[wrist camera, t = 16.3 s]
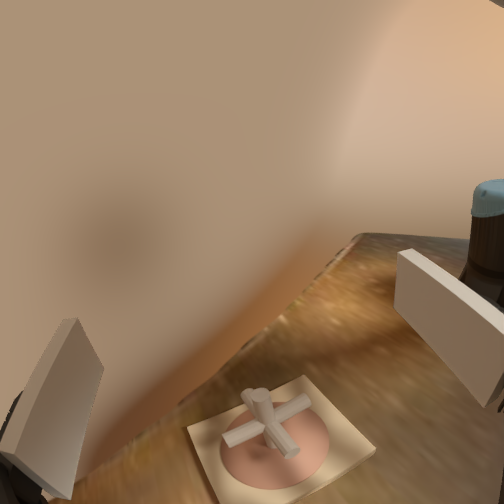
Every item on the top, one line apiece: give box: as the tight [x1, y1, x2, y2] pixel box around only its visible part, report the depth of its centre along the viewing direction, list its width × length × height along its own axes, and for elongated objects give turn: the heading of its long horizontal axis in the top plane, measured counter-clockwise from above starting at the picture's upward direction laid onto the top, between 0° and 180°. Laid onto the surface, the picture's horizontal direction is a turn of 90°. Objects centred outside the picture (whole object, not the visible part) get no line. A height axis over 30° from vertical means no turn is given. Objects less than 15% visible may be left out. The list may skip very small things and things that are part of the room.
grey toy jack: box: [222, 388, 311, 459], centre depth 28 cm, size 10×10×10 cm
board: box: [187, 375, 376, 504], centre depth 31 cm, size 18×16×2 cm
